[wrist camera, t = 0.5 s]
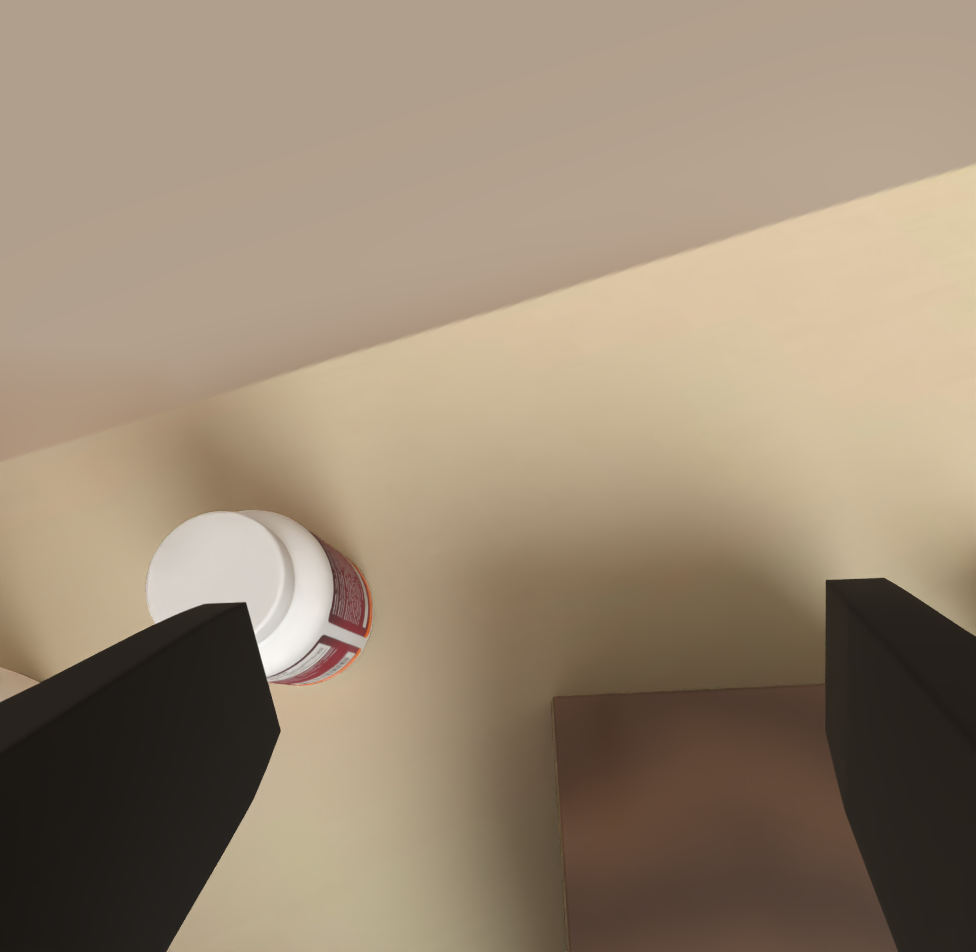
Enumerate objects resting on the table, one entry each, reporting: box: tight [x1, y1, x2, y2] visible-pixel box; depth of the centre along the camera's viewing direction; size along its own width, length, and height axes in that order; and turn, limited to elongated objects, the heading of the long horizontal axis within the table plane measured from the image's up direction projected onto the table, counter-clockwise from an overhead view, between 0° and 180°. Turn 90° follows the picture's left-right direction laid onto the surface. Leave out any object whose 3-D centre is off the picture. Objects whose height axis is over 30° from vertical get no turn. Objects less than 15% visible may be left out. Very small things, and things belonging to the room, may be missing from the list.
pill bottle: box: [145, 510, 374, 686], centre depth 32 cm, size 6×6×11 cm
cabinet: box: [551, 684, 898, 952], centre depth 29 cm, size 14×15×9 cm
